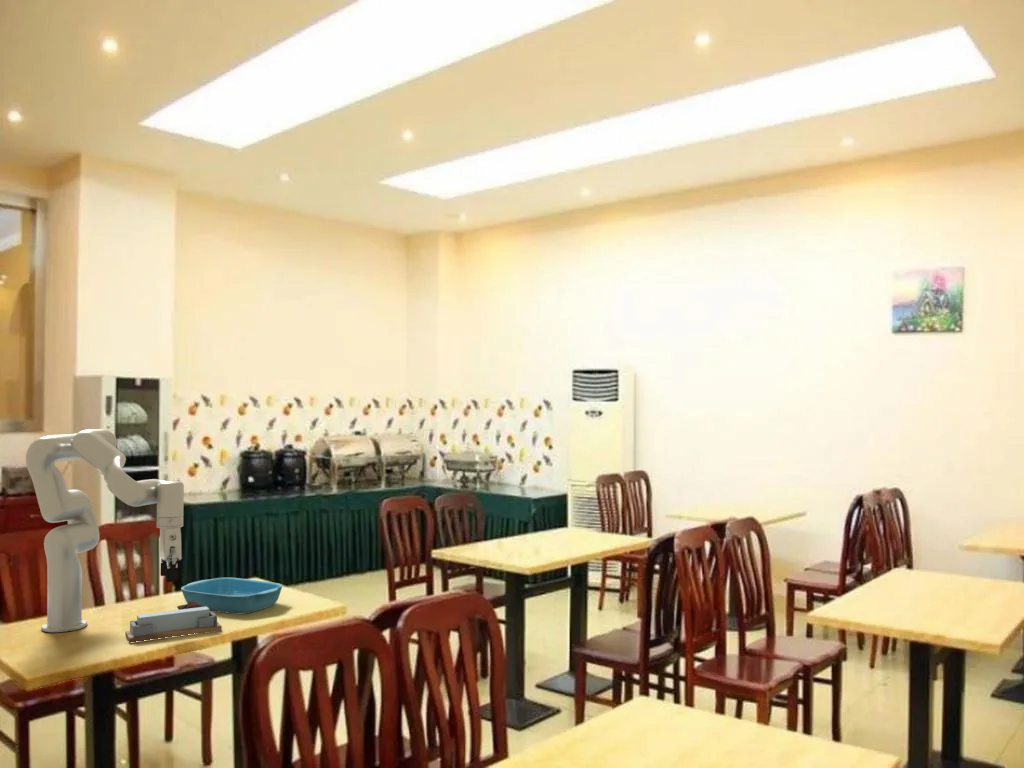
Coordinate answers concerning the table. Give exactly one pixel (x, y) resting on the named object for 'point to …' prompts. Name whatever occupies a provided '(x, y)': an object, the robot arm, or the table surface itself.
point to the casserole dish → (232, 594)
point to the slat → (173, 619)
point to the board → (172, 633)
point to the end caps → (148, 628)
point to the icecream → (189, 605)
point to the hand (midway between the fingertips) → (168, 578)
